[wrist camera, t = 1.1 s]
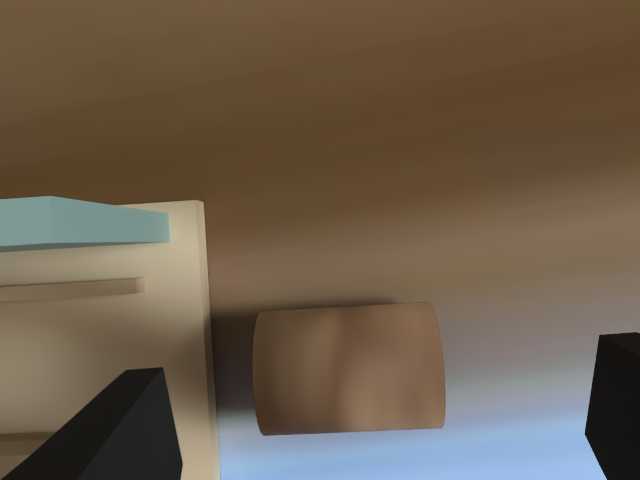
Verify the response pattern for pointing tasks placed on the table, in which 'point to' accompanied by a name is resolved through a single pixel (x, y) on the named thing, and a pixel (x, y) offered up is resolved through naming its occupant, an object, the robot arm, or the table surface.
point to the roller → (348, 369)
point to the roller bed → (103, 317)
